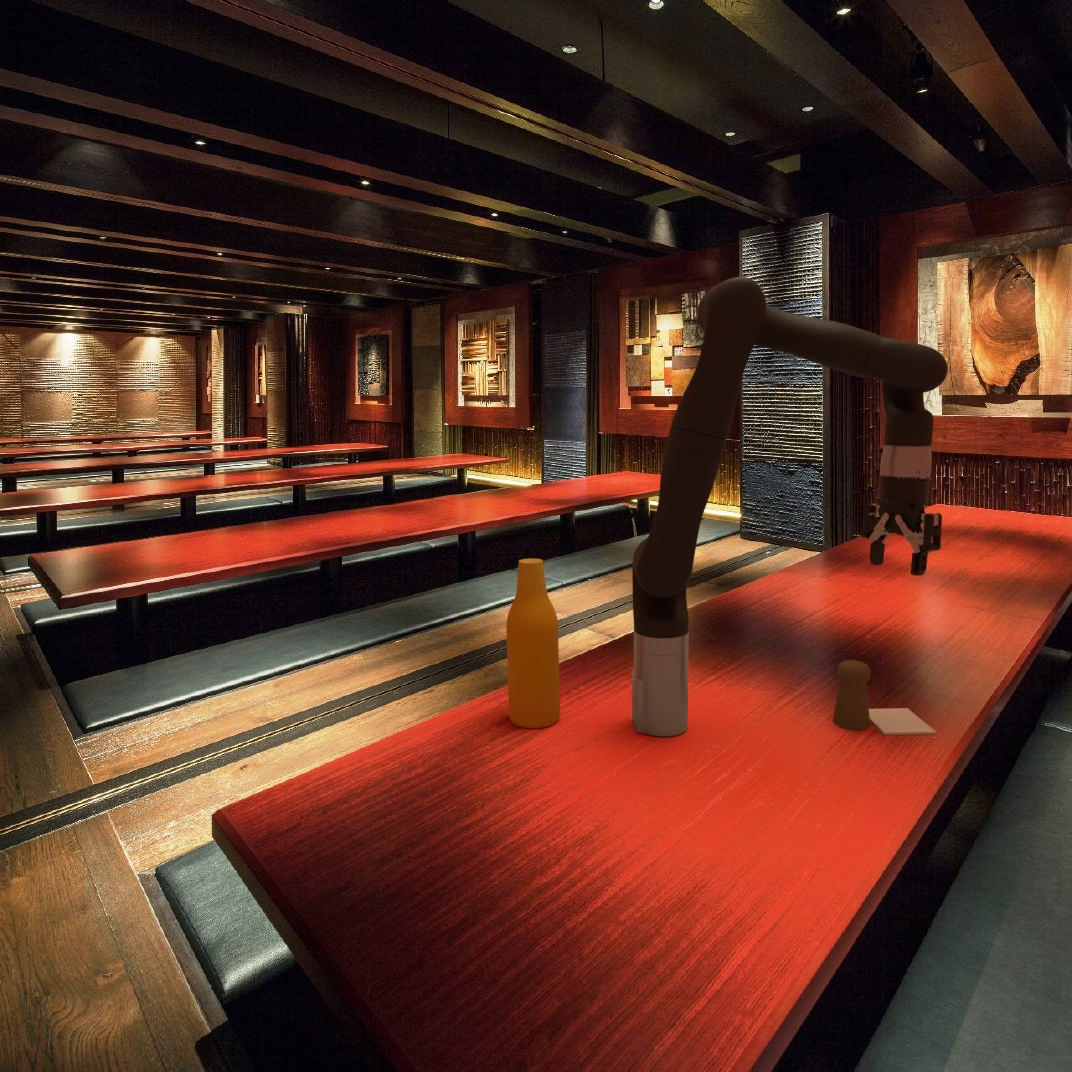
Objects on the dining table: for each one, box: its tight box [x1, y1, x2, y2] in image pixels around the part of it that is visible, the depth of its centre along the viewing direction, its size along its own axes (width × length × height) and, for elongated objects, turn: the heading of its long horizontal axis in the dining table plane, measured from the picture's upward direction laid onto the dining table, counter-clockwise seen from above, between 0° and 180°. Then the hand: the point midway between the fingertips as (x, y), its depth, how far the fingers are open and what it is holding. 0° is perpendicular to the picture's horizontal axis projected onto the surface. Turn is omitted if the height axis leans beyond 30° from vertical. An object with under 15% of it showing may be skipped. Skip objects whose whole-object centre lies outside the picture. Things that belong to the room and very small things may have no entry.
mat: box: [869, 707, 937, 736], centre depth 129 cm, size 8×10×1 cm
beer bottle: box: [505, 558, 561, 729], centre depth 132 cm, size 9×9×29 cm
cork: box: [832, 659, 871, 731], centre depth 129 cm, size 6×6×11 cm
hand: (896, 569), depth 126 cm, fingers open, 8 cm apart
